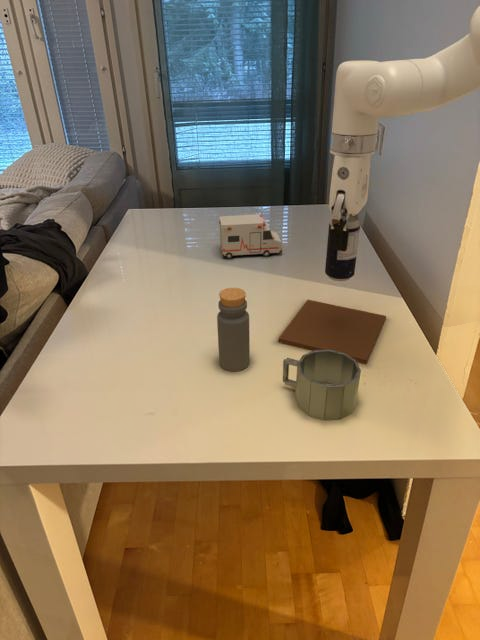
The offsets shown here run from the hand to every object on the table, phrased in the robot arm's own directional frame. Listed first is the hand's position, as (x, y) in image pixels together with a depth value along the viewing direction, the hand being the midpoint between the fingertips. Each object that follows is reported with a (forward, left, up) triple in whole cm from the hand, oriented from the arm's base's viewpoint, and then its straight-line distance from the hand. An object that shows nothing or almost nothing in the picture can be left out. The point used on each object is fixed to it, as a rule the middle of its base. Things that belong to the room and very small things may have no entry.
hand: (342, 242), depth 88 cm
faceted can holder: (-4, +22, -20) cm, 30 cm away
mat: (0, 0, -20) cm, 20 cm away
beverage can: (0, 0, -7) cm, 7 cm away
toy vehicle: (+34, -31, -20) cm, 50 cm away
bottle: (+14, +19, -20) cm, 31 cm away
